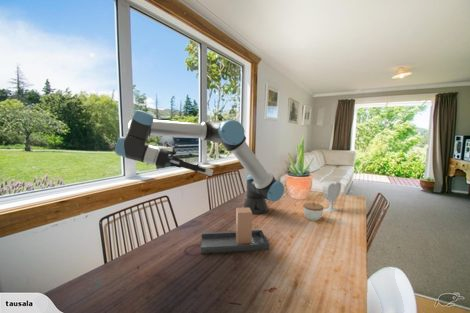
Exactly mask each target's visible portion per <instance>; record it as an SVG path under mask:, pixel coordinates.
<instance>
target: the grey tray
mask: <svg viewBox="0 0 470 313" xmlns="http://www.w3.org/2000/svg"><path fill="white" fill-rule="evenodd" d="M267 250H270V243H269V241H268V240H267V237H266V236H265V233H264V232H263V231H262V229H255V230H254V229H253V230H252V237H251V243H239V244H237V241H236V230H232V231H231V230H229V231H206V232H201V243H200V254H211V253H212V254H213V253H215V254H216V253H233V252H250V251H251V252H253V251H267Z"/></svg>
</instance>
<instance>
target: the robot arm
mask: <svg viewBox="0 0 470 313" xmlns="http://www.w3.org/2000/svg"><path fill="white" fill-rule="evenodd" d="M154 118H155V117H154V115H152V114H151V113H149V112H146V111H144V110H143V111H142V110H140V109H136V110H134V112H133V115H132V118H131V119H130V120H128V123H127V133H126V136H120V137H119V138H118V139H117V142H116V144H115V146H114V147H115V148H114V152H115V154H116V155H118V156H120V157H123V158H126V159H129V160H133V161H137V162H140V163H144V164H145V165H146V166H149V165H152V166H154V165H155V167H158V168H162V169H164V168H166V165H167V163H168V164H170V166H171V167H175V168H184V169H187V170H190V171H193V172H195V174H198V173H200V174H203V175H208V176H210V177H211V176H213V172H214V169H211V168H208V167H205V166H201V165H200V164H199V163H197V164H194V163H190V162H187V161H184V160H183V159H180V158H178V157H176V156H172V157H169V156H170V150H169V149H164V148H161V149H160V147H159V146H155V145H151V144H148V143H147V140H148V138H149V137H148V136H153V137H171V138H172V137H173V138H191V139H200V140H201V141H208V142H214V143H217V144H221V145H222V146H223V147H224V149H225V150H226V151H227V152H229V153H230V152H231V153H232V154H233V155H234V157H235V158H236V159H237V161H238V162H239V163H240V164H241V166H242V167H243V169H244V170H245V171H246V172H247V173H248V175H247V177H246V198H245V201H244V204H243V208H250V209H251V211H252V215H253V214H254V215H260V214H265V213H267V212H268V208H269V207H268V204H267V201H266V200H268V201H269V202H278V201H279V200H281V198H282V197H283V195H284V192H285V186H284V183H282V181H280V180H277V179H276V178H275V177H274V175H273V174H272V173H271V172H268V171H267V170H266V168H265V167H264V166H263V165H262V163H261V161H260V160H259V159H258V158H257V156H256V155H255V153H254V152H253V151H252V149H251V147H250V146H249V144H248V143H247V142H246V140H247V137H246V135H245V133H246V131H245V127H244V126H243V125H242V123H241V122H239V121H238V120H235V119H224V120H216V121H202V122H201V123H197V122H186V121H175V120H174V121H172V120H165V119H164V120H162V119H154Z"/></svg>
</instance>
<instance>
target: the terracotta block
mask: <svg viewBox="0 0 470 313" xmlns="http://www.w3.org/2000/svg"><path fill="white" fill-rule="evenodd" d="M252 226H253V214H252V211H251V209H250V208H244V207H236V208H235V231H236V241H237V244H239V243H251V237H252V229H253V228H252Z"/></svg>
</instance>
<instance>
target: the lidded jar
mask: <svg viewBox="0 0 470 313" xmlns="http://www.w3.org/2000/svg"><path fill="white" fill-rule="evenodd" d="M324 209H325V208H324V205H322V204H320V203H316V202H306V203H305V202H304V203H303V213H304V216H305V217H306V219H307V220H309V221H313V222H314V221H315V222H317V221H319V220H320V219H321V218H322V216H323V214H324V211H323V210H324Z"/></svg>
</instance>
